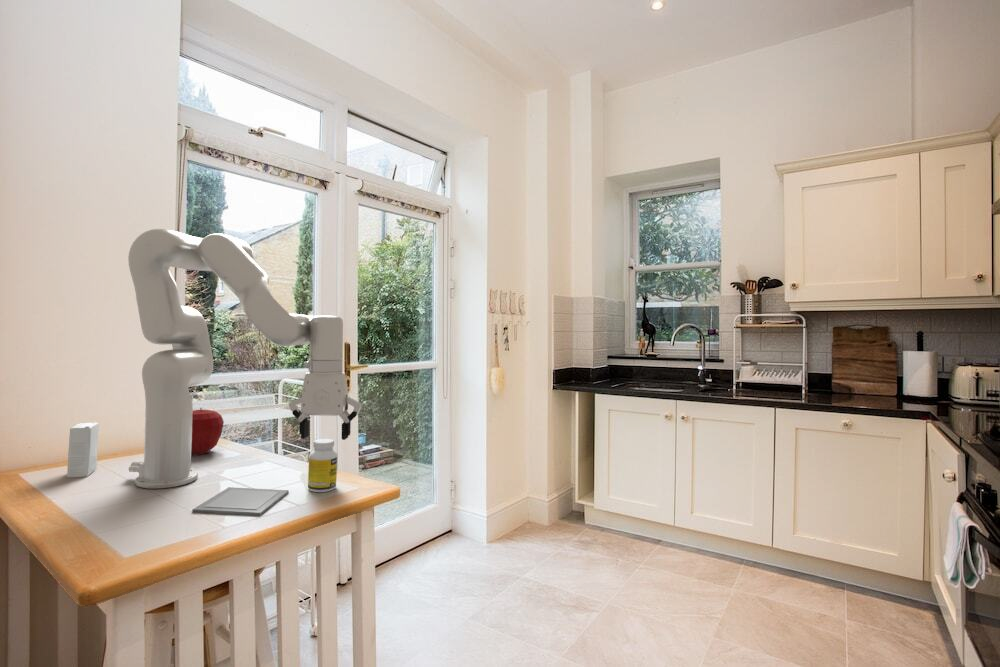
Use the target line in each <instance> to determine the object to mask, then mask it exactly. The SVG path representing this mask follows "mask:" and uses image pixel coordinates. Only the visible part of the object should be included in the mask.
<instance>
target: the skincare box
mask: <svg viewBox="0 0 1000 667" xmlns="http://www.w3.org/2000/svg"><path fill="white" fill-rule="evenodd" d="M99 425H100V422H81V423H77V424H75V425H74V426H72V427H71V428H69V439H68V453H67V454H68V455H67V456H68V458H67V469H66V470H67V471H66V474H67V475H66V477H67V478H68V479H69V478H86V477H89V476H90V475H91V474H92V473H94V472H95V471H96V470H97V465H98V464H97V463H98V443H99Z"/></svg>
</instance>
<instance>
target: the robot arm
mask: <svg viewBox="0 0 1000 667" xmlns="http://www.w3.org/2000/svg"><path fill="white" fill-rule="evenodd" d="M127 258H128V259H127V261H128V267H129V272H130V276H131V280H132V283H133V286H134V292H135V298H136V304H137V310H138V314H139V316H138V317H139V321H140V327H141V331H142V335H143V337H144V338H145V340H147V341H148V342H149V343H151V344H155V345H171V348H172V349H165V350H161V351H158V352H154V354H152V355H149V357H148V358H147V359H146V360H145V362H144V363H143V366H142V368H141V369H142V370H141V379H142V384H143V389H144V397H145V415H144V416H145V423H144V424H145V425H144V447H143V448H144V452H143V453H144V454H143V461H132V462H131V464H130V466H129V467H128V472H130V473H132V472H133V473H136V472H137V473H138V476H137V477H136V478H135V482H134V483H135V485H136V486H137V487H138V488H141V489H143V488H144V489H151V490H153V489H169V488H175V487H180V486H184V485H187V484H190V483H193V482H194V481H195V480H197V479H198V476H199V472H197V470H194V469H192V468H191V467H192V454H191V443H192V413H193V411H194V410H193V406H194V405H193V399H192V396H191V393H190V391H189V389H190V388H189V387H193V386H196V385H201V384H203V383H204V382H206V381H207V380H209V378H210V377H211V376H212V374H213V371H214V357H213V352H212V346H211V340H210V333H209V328H208V324H207V322H206V319H205V318H204V316H203V315H202V313H201V312H199V311H198V310H197V309H195V308H193V307H190V306H187V305H186V306H184V305H182V304H181V301H180V300H181V299H180V296H179V290H178V289H179V288H178V285H177V283H176V281H175V279H174V277H173V276H172V275H173V274H172V273H171V272H170V268H171V267H172V268H178V269H183V270H190V271H201V272H202V271H203V272H213V273H214V274H215V276H217V278H219V279H220V280H221V281H222V283H223V284H224V285H225V286H226V287H228V289H229V290H230V291H231V292H232V293H233V294H234V295H235V296H236V297H237V298H238V300H239V304H240V306H241V308H242V310H243V312H244V313H245V315H246V317H247V318H248V320H249V321H250V322H251V324H253V326H254V327H255V328H256V329H257V330H258V331H259V332H260V333H261V334H262V335H263V336H264V337H265V338H266V339H267V340H268V341H269V342H272V343H273V344H274V345H277V346H279V347H290V346H302V345H303V346H304V345H309V359H308V361H303V367H304V368H306V369H308V371H309V372H305V374H304V379H303V385H302V390H301V391H302V392H301V397H299V398H297V399H294V400H292V401H290V402H289V403H288V407H289V409H290V411H291V413H292V416H294V418H296V420H297V422H299V435H300V437H301V439H302V440H304V439H306V438H308V437H310V420H309V419H308V418H309V417H310V416H324V417H325V416H327V417H329V416H331V417H332V416H333V417H337V416H339V417H340V419H342V421H343V423H341V440H342V441H343V440H344V441H345V440H347V439H348V438H349V436H350V435H351V421H352V420H353V419H355V418H356V417H357V416H358V415H359V413H360V411H361V409H362V407H363V404H362V403H361V402H359V401H357V400H355V399H354V398H351V397H350V396H349V390H348V382H347V375H346V372H344V371H343V363H344V362H343V360H344V359H343V351H344V350H343V349H344V346H343V345H344V322H343V319H342V317H341V316H338V315H306V314H299V313H289V312H288V311H287V310H286V309H285V308H284V307H283V306H282V305H281V304H280V303H279V302H278V301H277V300H276V299H275V297H274V296H273V295H272V293H271V291H270V289H269V283H270V277H269V275H268V274H267V273H266V272H265V270H264V269H262V268H261V266H259V265H258V264H257V263H256V261H255V260H254V258H255V256H254V251H253V249H252V247H251V246H250V245H249V243H247V242H246V241H244V240H242V239H239V238H238V237H233V236H231V235H228V234H224V233H210V234H209V235H206V236H205V237H197V236H192V235H189V234H185V233H182V232H179V231H175V230H172V229H166V228H153V229H149V230H147V231H144V232H142V233H141V234H139V235H138V236H137V237H136V239H135V240H134V241H132V244H131V246H130V249H129V251H128V256H127ZM299 404H300V409H299V407H298V405H299ZM349 406H352V407H353V410H352V411H351V413H349V411H348V410H349Z"/></svg>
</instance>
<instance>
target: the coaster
mask: <svg viewBox="0 0 1000 667" xmlns="http://www.w3.org/2000/svg"><path fill="white" fill-rule="evenodd" d="M289 491H290V490H288V489H287V490H286V489H269V488H267V489H266V488H249V487H248V488H247V487H231V486H230V487H227V488H225V489H223V490H222V491H220V492H218V493H217V494H215V495H214V496H212V497H210V498H209V499H207V500H206V501H204V502H202V503H200V504H199V505H198V506H196V507H194V508H192V510H191V512H192V513H198V514H199V513H200V514H215V515H216V514H218V515H221V514H222V515H239V516H240V515H241V516H242V515H243V516H255V517H256V516H262V515H263V514H264V513H265V512H267V511H268V510H269V509H270V508H271V507H273V506H274V505H275V504H277V503H278V502H279V501H281V500H282V498H284V497H286V496H287V495H288V494H289Z"/></svg>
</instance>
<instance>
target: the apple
mask: <svg viewBox="0 0 1000 667" xmlns="http://www.w3.org/2000/svg"><path fill="white" fill-rule="evenodd" d="M224 423H225V421H224V418H223V416H222V415H221V413H219V412H218V411H215V410H209V409H202V407H200V409H195V410H193V413H192V443H191V456H192V455H193V456H199V455H200V456H201V455H203V454H206V453H209V452H210V451H212V449H214V448H215V447H216V446H217V445H218V444H219V443H218V442H219V440H220V438H221V435H222V433H223V427H224Z"/></svg>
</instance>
